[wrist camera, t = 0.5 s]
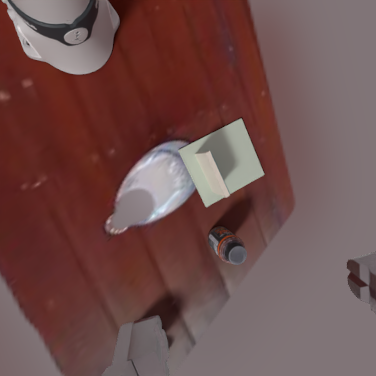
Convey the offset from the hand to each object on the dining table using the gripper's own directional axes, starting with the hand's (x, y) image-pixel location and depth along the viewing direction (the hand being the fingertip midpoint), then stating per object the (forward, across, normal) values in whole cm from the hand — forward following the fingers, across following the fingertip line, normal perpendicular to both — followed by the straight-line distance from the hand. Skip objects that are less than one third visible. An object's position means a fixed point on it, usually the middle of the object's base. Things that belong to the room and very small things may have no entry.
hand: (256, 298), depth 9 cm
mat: (+45, -10, +4) cm, 46 cm away
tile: (+44, -5, +5) cm, 44 cm away
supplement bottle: (+42, -4, +21) cm, 48 cm away
